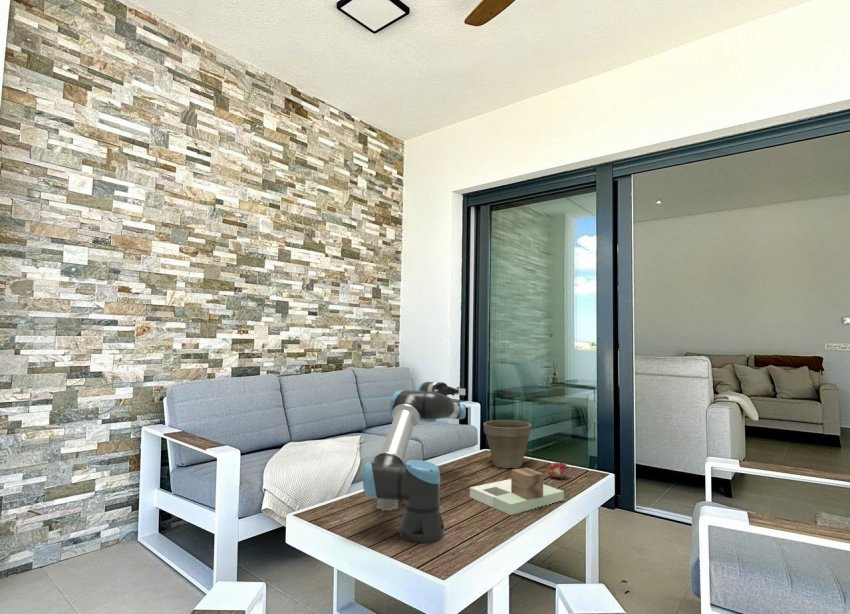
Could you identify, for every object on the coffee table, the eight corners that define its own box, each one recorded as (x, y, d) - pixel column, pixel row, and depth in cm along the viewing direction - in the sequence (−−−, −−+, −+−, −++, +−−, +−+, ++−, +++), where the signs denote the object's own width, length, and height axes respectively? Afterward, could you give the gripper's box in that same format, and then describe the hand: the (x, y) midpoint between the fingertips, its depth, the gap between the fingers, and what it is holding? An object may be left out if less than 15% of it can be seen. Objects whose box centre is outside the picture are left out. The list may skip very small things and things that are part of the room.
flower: (574, 476, 228) (568, 460, 233) (562, 475, 223) (556, 458, 228) (559, 484, 234) (554, 468, 239) (547, 483, 229) (541, 467, 234)
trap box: (510, 515, 181) (510, 504, 182) (469, 497, 201) (469, 487, 201) (563, 501, 198) (563, 491, 199) (521, 485, 218) (521, 476, 218)
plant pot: (473, 464, 255) (473, 422, 256) (502, 457, 271) (502, 417, 273) (512, 474, 236) (512, 429, 238) (540, 466, 253) (540, 424, 254)
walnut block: (526, 499, 187) (526, 476, 188) (511, 492, 196) (511, 469, 197) (543, 497, 191) (543, 473, 191) (527, 489, 199) (527, 467, 200)
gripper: (426, 381, 232) (451, 382, 211) (450, 382, 237) (476, 383, 217) (426, 397, 231) (450, 400, 210) (450, 398, 236) (476, 400, 215)
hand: (463, 391), depth 213 cm, fingers closed
